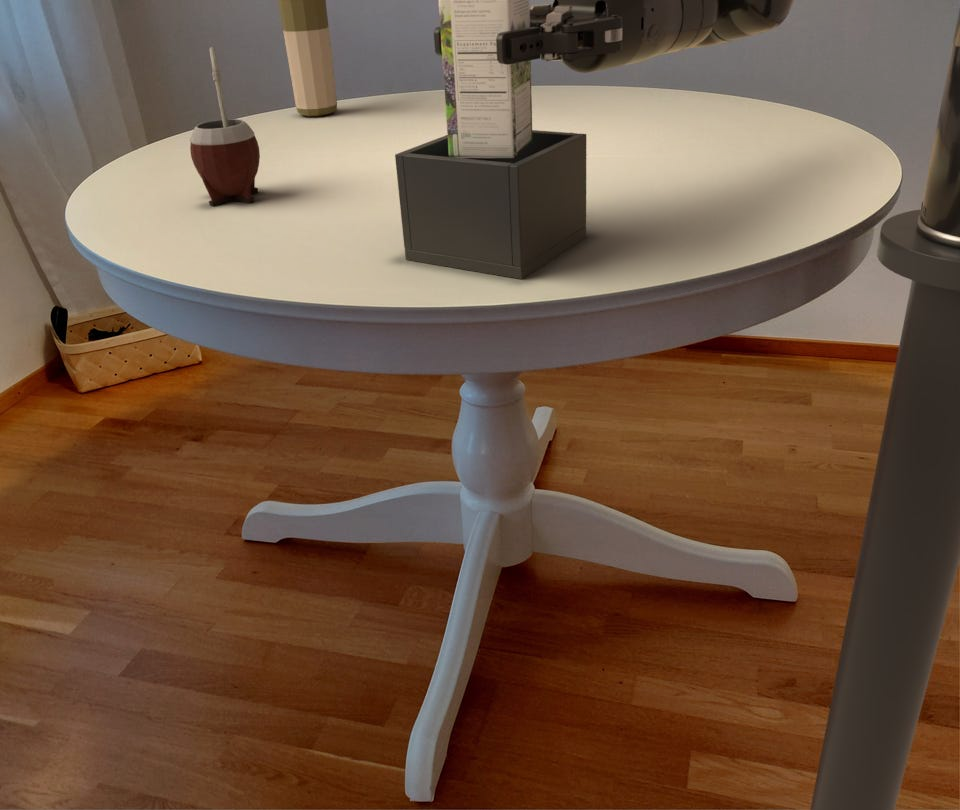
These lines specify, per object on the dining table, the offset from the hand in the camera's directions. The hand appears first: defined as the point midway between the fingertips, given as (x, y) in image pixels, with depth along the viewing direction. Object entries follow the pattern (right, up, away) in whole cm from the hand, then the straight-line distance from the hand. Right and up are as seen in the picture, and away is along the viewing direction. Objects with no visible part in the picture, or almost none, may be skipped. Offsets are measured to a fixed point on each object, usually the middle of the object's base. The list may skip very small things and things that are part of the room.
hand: (467, 45), depth 68 cm
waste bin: (+2, -14, +9) cm, 17 cm away
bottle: (-25, +18, +71) cm, 77 cm away
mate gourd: (-26, -5, +29) cm, 39 cm away
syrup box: (+2, -7, +5) cm, 9 cm away
